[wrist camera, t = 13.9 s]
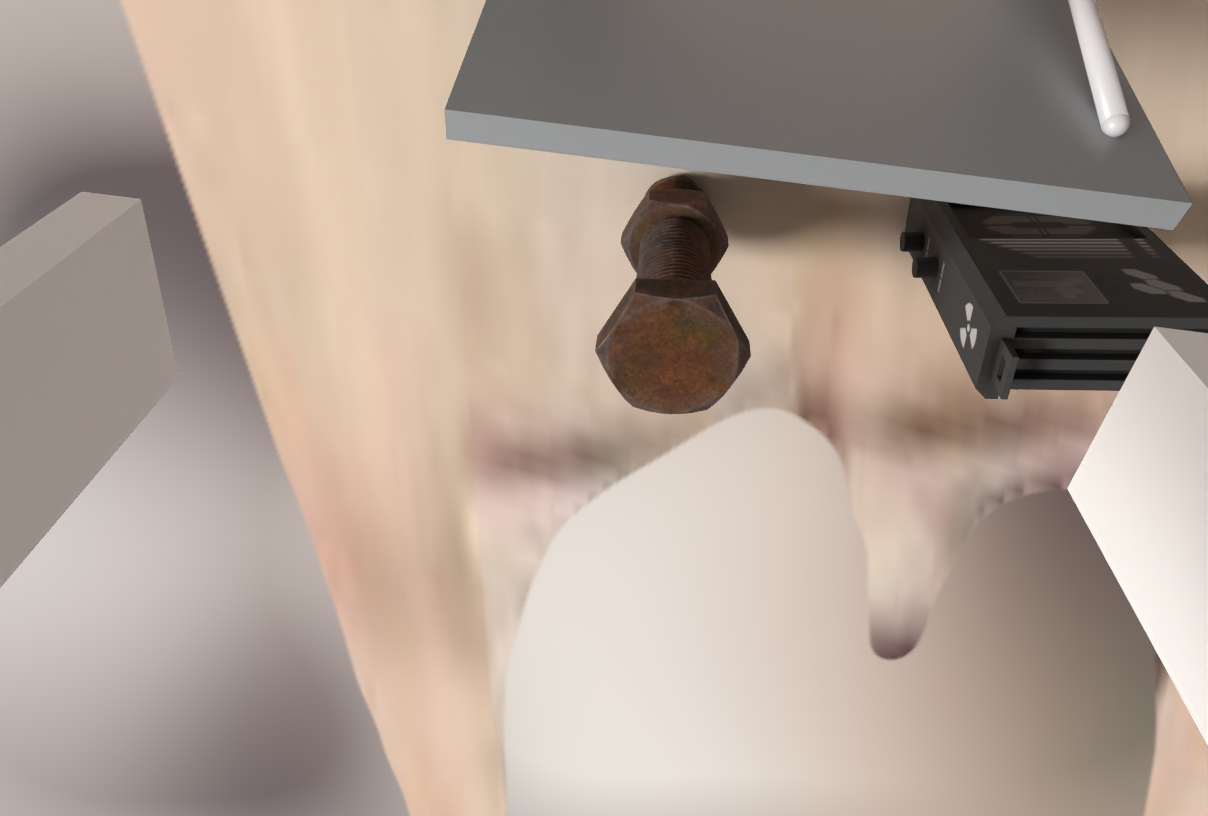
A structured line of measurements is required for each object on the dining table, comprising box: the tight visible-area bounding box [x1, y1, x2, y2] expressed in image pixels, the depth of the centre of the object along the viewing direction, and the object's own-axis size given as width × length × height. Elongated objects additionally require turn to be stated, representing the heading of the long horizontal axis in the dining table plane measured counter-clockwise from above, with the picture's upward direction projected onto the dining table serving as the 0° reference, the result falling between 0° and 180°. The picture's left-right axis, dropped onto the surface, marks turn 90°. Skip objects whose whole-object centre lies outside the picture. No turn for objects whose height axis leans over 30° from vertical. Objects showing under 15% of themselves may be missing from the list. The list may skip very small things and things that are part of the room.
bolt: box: [595, 176, 751, 414], centre depth 39 cm, size 6×5×15 cm
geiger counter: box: [900, 197, 1208, 399], centre depth 38 cm, size 10×4×15 cm, turn 92°
